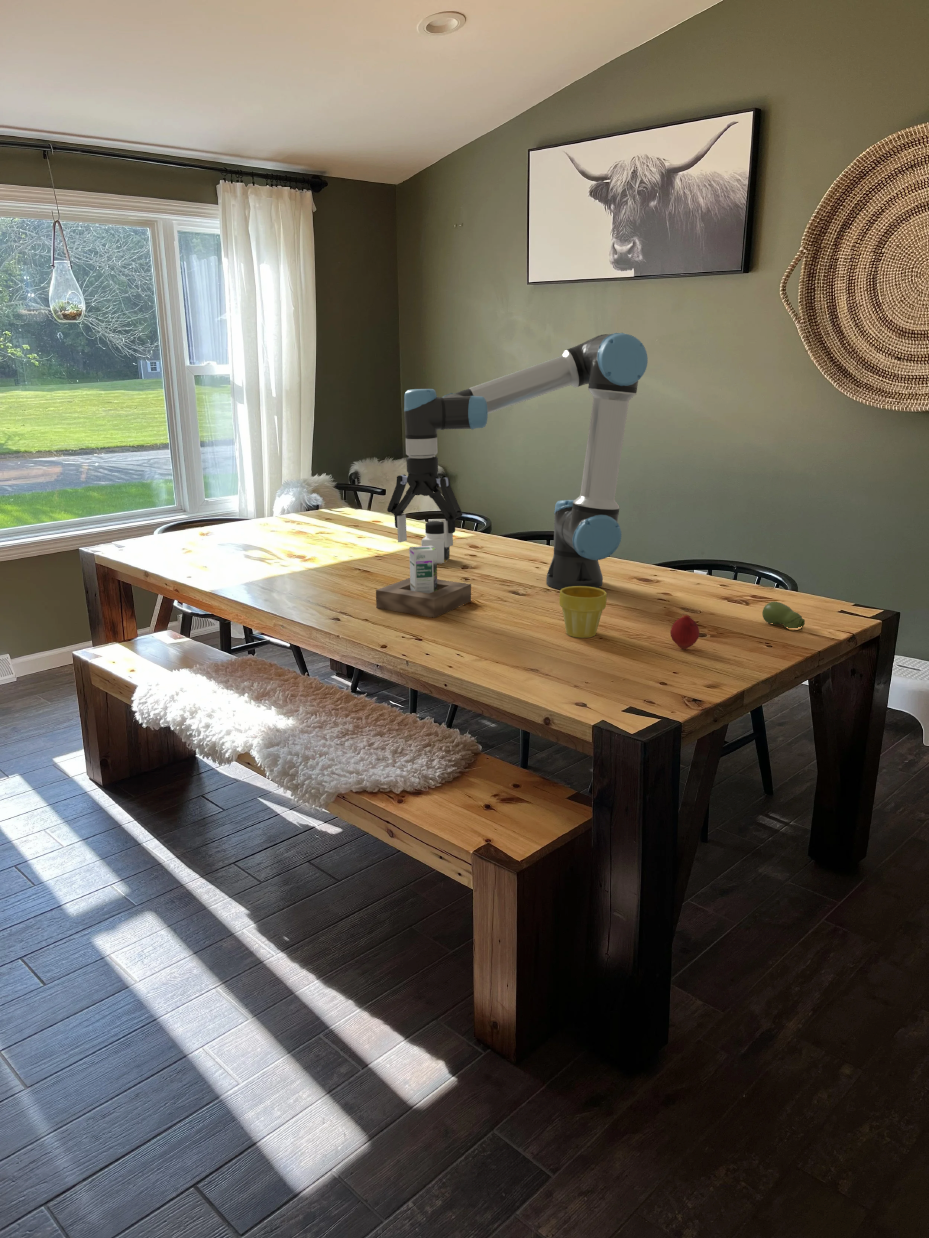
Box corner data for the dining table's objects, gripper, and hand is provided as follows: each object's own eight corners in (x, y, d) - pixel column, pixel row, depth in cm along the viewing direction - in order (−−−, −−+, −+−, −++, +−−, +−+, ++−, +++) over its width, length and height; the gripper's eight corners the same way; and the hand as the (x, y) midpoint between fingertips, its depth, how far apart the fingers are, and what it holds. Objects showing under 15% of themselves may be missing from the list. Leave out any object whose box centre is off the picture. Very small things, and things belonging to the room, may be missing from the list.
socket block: (471, 601, 225) (471, 584, 224) (434, 617, 211) (434, 599, 210) (415, 592, 234) (415, 575, 232) (376, 607, 220) (375, 590, 218)
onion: (693, 644, 191) (696, 609, 189) (701, 653, 186) (704, 616, 184) (666, 645, 191) (668, 609, 189) (673, 653, 186) (676, 616, 183)
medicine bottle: (444, 563, 266) (444, 524, 262) (421, 562, 267) (420, 523, 264) (449, 558, 273) (449, 519, 269) (427, 557, 274) (426, 519, 271)
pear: (775, 596, 208) (812, 613, 201) (769, 617, 210) (806, 634, 203) (760, 600, 205) (797, 617, 198) (755, 621, 207) (791, 638, 200)
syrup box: (415, 608, 219) (414, 550, 215) (410, 602, 225) (409, 545, 220) (437, 606, 221) (437, 549, 217) (432, 600, 226) (431, 544, 222)
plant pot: (612, 631, 201) (614, 589, 198) (594, 643, 192) (595, 599, 190) (569, 624, 206) (571, 583, 203) (550, 636, 197) (551, 593, 195)
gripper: (475, 456, 209) (476, 545, 215) (388, 452, 221) (392, 536, 228) (458, 460, 203) (460, 551, 209) (370, 455, 215) (374, 542, 221)
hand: (425, 543), depth 218 cm, fingers open, 13 cm apart
